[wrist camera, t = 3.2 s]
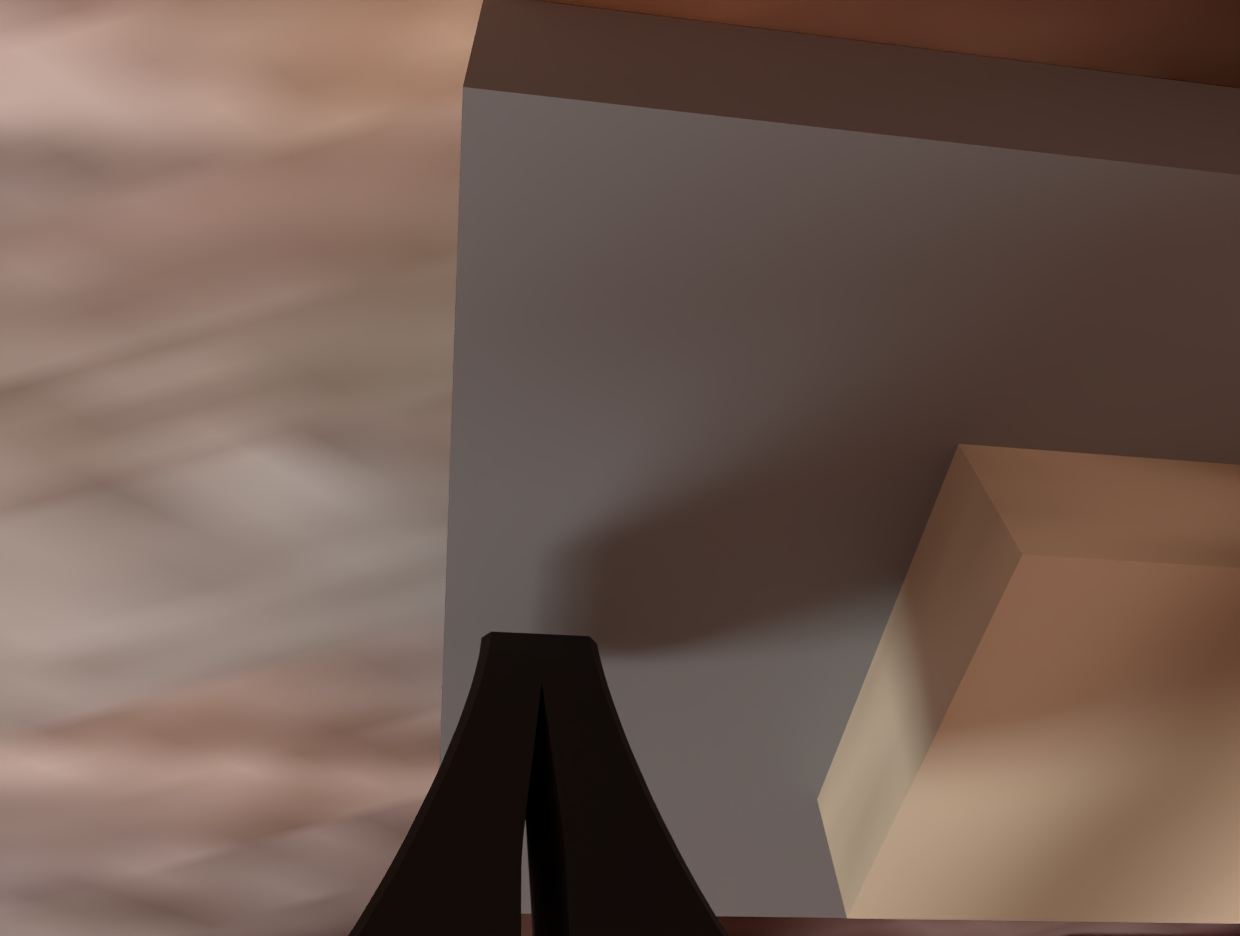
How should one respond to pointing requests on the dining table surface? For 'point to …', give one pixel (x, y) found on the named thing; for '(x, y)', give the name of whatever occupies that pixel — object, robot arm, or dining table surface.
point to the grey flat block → (793, 364)
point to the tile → (1053, 701)
